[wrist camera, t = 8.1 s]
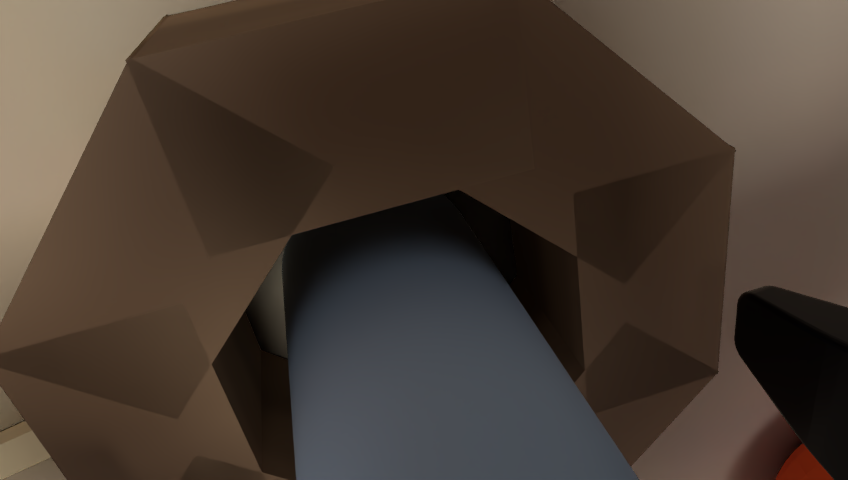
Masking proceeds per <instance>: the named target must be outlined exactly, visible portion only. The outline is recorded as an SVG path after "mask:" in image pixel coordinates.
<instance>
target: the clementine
mask: <svg viewBox="0 0 848 480" xmlns="http://www.w3.org/2000/svg"><path fill="white" fill-rule="evenodd" d="M776 480H834V479H833V478H832V477H831V476H830V475H829V473H828V472H827V471H826V470H825V469H824V468H823V467H822V465H821V464H820V463H819V462H818V461H817V460H816V458H815V457H814V456H813V455H812V454H811V452H810V451H809V450H808V449H807V448H806V446H805V445H804V444H801V445H800V446H799V447H798V448H797V449H795V451H794V452H793V453H792V454H791V455H790V456H789V458H788V459H787V460H786V461H785V462H784V464H783V466H782V468H781V469H780V471H779V473H778V475H777V477H776Z"/></svg>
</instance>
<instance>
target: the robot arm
mask: <svg viewBox="0 0 848 480" xmlns="http://www.w3.org/2000/svg"><path fill="white" fill-rule="evenodd" d="M734 340H735V346H736V349H737V351H738V353H739V355H740V357H741V358H742V360H743V361H744V362H745V364H746V365H747V367H748V368H749V369H750V371H751V372H752V374H753V375H754V376H755V378H756V379H757V381H758V382H759V383H760V385H761V386H762V388H763V389H764V390H765V392H766V393H767V395H768V396H769V397H770V399H771V400H772V401H773V403H774V404H775V406H776V407H777V408H778V410H779V411H780V413H781V414H782V415H783V417H784V418H785V420H786V421H787V422H788V424H789V425H790V427H791V428H792V429H793V431H794V432H795V433H796V435H797V436H798V437H799V439H800V440H801V441H802V443H803V444H804V445H805V446H806V448H807V449H808V450H809V451H810V452H811V454H812V455H813V456H814V457H815V458H816V460H817V461H818V462H819V463H820V464H821V465H822V467H823V468H824V469H825V470H826V471H827V472H828V473H829V475H830V476H831V477H832V478H833V479H834V480H848V308H847V307H844V306H840V305H837V304H833V303H830V302H827V301H823V300H820V299H816V298H813V297H809V296H806V295H802V294H799V293H795V292H792V291H789V290H785V289H782V288H778V287H774V286H764V287H761V288H757V289H754V290H751V291H748V292H745V293H743V294H742V295H741V296H740V298H739V299H738V304H737V314H736V325H735V336H734Z"/></svg>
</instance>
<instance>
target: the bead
mask: <svg viewBox="0 0 848 480" xmlns="http://www.w3.org/2000/svg"><path fill="white" fill-rule="evenodd" d="M125 61H126V63H127V64H126V66H125V68H124V70H123V72H122V74H121V76H120V78H119V80H118V82H117V84H116V86H115V88H114V90H113V92H112V95H111V97H110V99H109V101H108V103H107V105H106V107H105V109H104V111H103V113H102V115H101V117H100V119H99V121H98V123H97V126H96V128H95V130H94V132H93V134H92V136H91V138H90V140H89V142H88V144H87V146H86V148H85V150H84V152H83V154H82V156H81V159H80V161H79V163H78V165H77V167H76V169H75V171H74V173H73V175H72V177H71V179H70V181H69V183H68V185H67V187H66V190H65V192H64V194H63V196H62V198H61V200H60V202H59V204H58V206H57V208H56V210H55V212H54V214H53V216H52V218H51V221H50V223H49V225H48V227H47V229H46V231H45V233H44V235H43V237H42V239H41V241H40V243H39V245H38V247H37V249H36V252H35V254H34V256H33V258H32V260H31V262H30V264H29V266H28V268H27V270H26V272H25V274H24V276H23V278H22V280H21V283H20V285H19V287H18V289H17V291H16V293H15V295H14V297H13V299H12V301H11V303H10V305H9V307H8V309H7V311H6V313H5V316H4V318H3V320H2V322H1V324H0V386H1V387H2V389H3V390H4V391H5V393H6V394H7V396H8V397H9V399H10V400H11V401H12V403H13V404H14V406H15V407H16V408H17V410H18V411H19V413H20V414H21V415H22V417H23V418H24V420H25V421H26V422H27V424H28V425H29V427H30V428H31V430H32V431H33V432H34V434H35V435H36V437H37V438H38V439H39V441H40V442H41V444H42V445H43V446H44V448H45V449H46V451H47V452H48V454H49V455H50V456H51V458H52V459H53V461H54V462H55V463H56V465H57V466H58V468H59V469H60V470H61V472H62V473H63V475H64V476H65V477H66V479H67V480H296V470H295V456H294V441H293V426H292V412H291V397H290V383H289V368H288V360H287V359H284V358H281V357H279V356H276V355H273V354H270V353H268V352H265V351H262V350H261V349H260V347H259V344H258V342H257V339H256V337H255V334H254V332H253V329H252V327H251V324H250V322H249V320H248V317H247V315H246V312H245V310H246V308H247V306H248V305H249V303H250V302H251V300H252V298H253V297H254V295H255V294H256V292H257V290H258V289H259V287H260V286H261V284H262V282H263V281H264V279H265V278H266V276H267V274H268V273H269V271H270V269H271V268H272V266H273V265H274V263H275V261H276V260H277V258H278V257H279V255H280V253H281V252H282V250H283V249H284V247H285V245H286V244H287V242H288V240H289V239H290V237H291V236H292V235H294V234H298V233H301V232H305V231H309V230H312V229H316V228H320V227H323V226H327V225H331V224H334V223H338V222H342V221H345V220H349V219H353V218H356V217H360V216H364V215H367V214H371V213H375V212H378V211H382V210H386V209H389V208H393V207H397V206H400V205H404V204H408V203H411V202H415V201H419V200H422V199H426V198H430V197H433V196H437V195H441V194H444V193H448V192H452V191H455V190H461V191H462V192H464V193H466V194H468V195H469V196H471V197H473V198H475V199H476V200H478V201H480V202H482V203H483V204H485V205H487V206H489V207H490V208H492V209H494V210H496V211H497V212H499V213H501V214H503V215H504V216H506V217H508V218H510V224H511V232H512V240H513V248H514V256H515V264H516V271H517V276H516V277H515V278H514V280H513V281H512V282H511V284H510V285H509V286H510V288H511V289H512V291H513V292H514V294H515V295H516V297H517V298H518V300H519V301H520V303H521V304H522V305H523V307H524V308H525V310H526V311H527V313H528V314H529V316H530V317H531V319H532V320H533V322H534V323H535V325H536V326H537V328H538V329H539V331H540V332H541V334H542V335H543V337H544V338H545V340H546V341H547V343H548V344H549V346H550V347H551V349H552V350H553V352H554V353H555V355H556V356H557V358H558V359H559V361H560V362H561V364H562V365H563V367H564V368H565V370H566V371H567V373H568V374H569V376H570V377H571V379H572V380H573V382H574V383H575V385H576V386H577V388H578V389H579V391H580V392H581V394H582V395H583V396H584V398H585V399H586V401H587V402H588V404H589V405H590V407H591V408H592V410H593V411H594V413H595V414H596V416H597V417H598V419H599V420H600V422H601V423H602V425H603V426H604V428H605V429H606V431H607V432H608V434H609V435H610V437H611V438H612V440H613V441H614V443H615V444H616V446H617V447H618V449H619V450H620V452H621V453H622V455H623V456H624V458H625V459H626V461H627V462H628V464H629V465H630V467H631V466H632V465H633V463H634V462H635V461H636V460H637V459H638V458H639V457H640V456H641V455H642V454H643V453H644V452H645V450H646V449H647V448H648V447H649V446H650V445H651V444H652V443H653V442H654V441H655V440H656V439H657V438H658V436H659V435H660V434H661V433H662V432H663V431H664V430H665V429H666V428H667V427H668V426H669V425H670V424H671V422H672V421H673V420H674V419H675V418H676V417H677V416H678V415H679V414H680V413H681V412H682V411H683V409H684V408H685V407H686V406H687V405H688V404H689V403H690V402H691V401H692V400H693V399H694V398H695V397H696V395H697V394H698V393H699V392H700V391H701V390H702V389H703V388H704V387H705V386H706V385H707V384H708V383H709V381H710V380H711V379H712V378H713V377H714V376H715V375H716V374H718V372H719V371H718V362H719V349H720V336H721V323H722V310H723V297H724V284H725V271H726V257H727V244H728V231H729V218H730V205H731V192H732V179H733V166H734V153H735V151H736V150H735V148H734V147H732V146H730V145H728V144H727V143H726V142H724V141H723V140H722V139H721V138H719V137H718V136H717V135H716V134H715V133H713V132H712V131H711V130H710V129H708V128H707V127H706V126H705V125H703V124H702V123H701V122H700V121H698V120H697V119H696V118H695V117H693V116H692V115H691V114H690V113H688V112H687V111H686V110H685V109H684V108H682V107H681V106H680V105H679V104H677V103H676V102H675V101H674V100H672V99H671V98H670V97H669V96H667V95H666V94H665V93H664V92H662V91H661V90H660V89H659V88H657V87H656V86H655V85H654V84H653V83H651V82H650V81H649V80H648V79H646V78H645V77H644V76H643V75H641V74H640V73H639V72H638V71H636V70H635V69H634V68H633V67H631V66H630V65H629V64H628V63H627V62H625V61H624V60H623V59H622V58H620V57H619V56H618V55H617V54H615V53H614V52H613V51H612V50H610V49H609V48H608V47H607V46H605V45H604V44H603V43H602V42H600V41H599V40H598V39H597V38H596V37H594V36H593V35H592V34H591V33H589V32H588V31H587V30H586V29H584V28H583V27H582V26H581V25H579V24H578V23H577V22H576V21H574V20H573V19H572V18H571V17H569V16H568V15H567V14H566V13H565V12H563V11H562V10H561V9H560V8H558V7H557V6H556V5H555V4H553V3H552V2H551V1H550V0H236V1H231V2H227V3H223V4H218V5H214V6H209V7H205V8H201V9H196V10H192V11H187V12H183V13H179V14H174V15H170V16H168V15H166V16H165V17H163V18H162V19H161V21H160V22H159V23H158V24H157V25H156V26H155V27H154V29H153V30H152V31H151V32H150V33H149V34H148V35H147V36H146V38H145V39H144V40H143V41H142V42H141V43H140V44H139V46H138V47H137V48H136V49H135V50H134V51H133V52H132V54H131V55H130V56H129V57H128V58H127V59H126V60H125Z"/></svg>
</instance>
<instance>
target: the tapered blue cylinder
mask: <svg viewBox="0 0 848 480" xmlns="http://www.w3.org/2000/svg"><path fill="white" fill-rule="evenodd" d="M282 280H283V295H284V310H285V324H286V339H287V353H288V368H289V383H290V397H291V412H292V426H293V441H294V456H295V470H296V480H639V479H638V477H637V476H636V474H635V473H634V471H633V470H632V468H631V467H630V465H629V464H628V462H627V461H626V459H625V458H624V456H623V455H622V453H621V452H620V450H619V449H618V447H617V446H616V444H615V443H614V441H613V440H612V438H611V437H610V435H609V434H608V432H607V431H606V429H605V428H604V426H603V425H602V423H601V422H600V420H599V419H598V417H597V416H596V414H595V413H594V411H593V410H592V408H591V407H590V405H589V404H588V402H587V401H586V399H585V398H584V396H583V395H582V394H581V392H580V391H579V389H578V388H577V386H576V385H575V383H574V382H573V380H572V379H571V377H570V376H569V374H568V373H567V371H566V370H565V368H564V367H563V365H562V364H561V362H560V361H559V359H558V358H557V356H556V355H555V353H554V352H553V350H552V349H551V347H550V346H549V344H548V343H547V341H546V340H545V338H544V337H543V335H542V334H541V332H540V331H539V329H538V328H537V326H536V325H535V323H534V322H533V320H532V319H531V317H530V316H529V314H528V313H527V311H526V310H525V308H524V307H523V305H522V304H521V303H520V301H519V300H518V298H517V297H516V295H515V294H514V292H513V291H512V289H511V288H510V286H509V285H508V283H507V282H506V280H505V279H504V277H503V276H502V274H501V273H500V271H499V270H498V268H497V267H496V265H495V264H494V262H493V261H492V259H491V258H490V256H489V255H488V253H487V252H486V250H485V249H484V247H483V246H482V244H481V243H480V241H479V240H478V238H477V237H476V235H475V234H474V232H473V231H472V229H471V228H470V226H469V225H468V223H467V222H466V220H465V219H464V217H463V216H462V215H461V213H460V212H459V210H458V209H457V208H456V207H455V205H454V204H453V203H452V202H451V201H450V200H449V199H448V198H446V197H445V196H444V195H443V194H441V195H437V196H433V197H430V198H426V199H422V200H419V201H415V202H411V203H408V204H404V205H400V206H397V207H393V208H389V209H386V210H382V211H378V212H375V213H371V214H367V215H364V216H360V217H356V218H353V219H349V220H345V221H342V222H338V223H334V224H331V225H327V226H323V227H320V228H316V229H312V230H309V231H305V232H301V233H298V234H294V235H292V236H291V237H290V239H289V240H288V242H287V244H286V246H285V249H284V254H283V259H282Z"/></svg>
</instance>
